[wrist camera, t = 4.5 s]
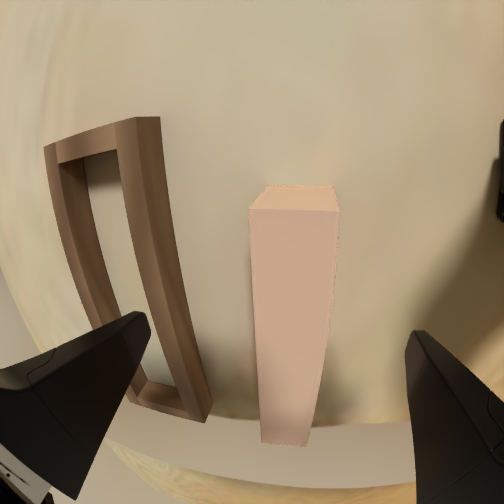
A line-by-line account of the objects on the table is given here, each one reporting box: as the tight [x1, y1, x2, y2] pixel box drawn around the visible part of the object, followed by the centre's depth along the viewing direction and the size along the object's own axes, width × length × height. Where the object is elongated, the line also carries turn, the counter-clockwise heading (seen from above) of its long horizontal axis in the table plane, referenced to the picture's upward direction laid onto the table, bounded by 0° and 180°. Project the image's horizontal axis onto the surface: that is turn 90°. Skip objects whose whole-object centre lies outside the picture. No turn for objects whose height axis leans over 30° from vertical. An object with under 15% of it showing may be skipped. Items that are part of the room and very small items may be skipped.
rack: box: [44, 117, 213, 423], centre depth 20 cm, size 8×25×2 cm, turn 3°
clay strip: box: [248, 185, 340, 447], centre depth 16 cm, size 4×18×5 cm, turn 3°
